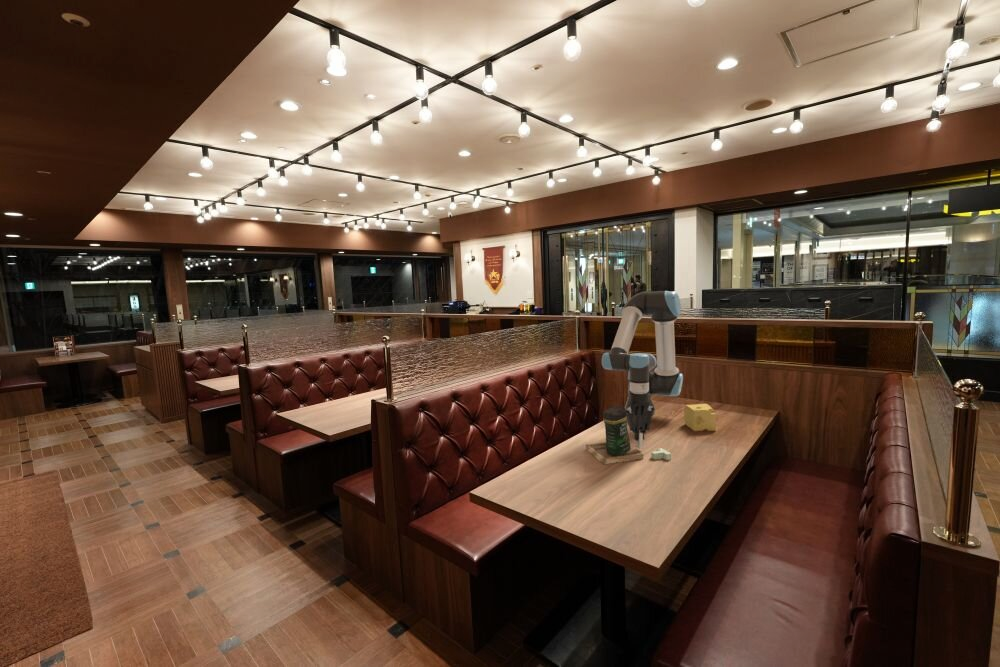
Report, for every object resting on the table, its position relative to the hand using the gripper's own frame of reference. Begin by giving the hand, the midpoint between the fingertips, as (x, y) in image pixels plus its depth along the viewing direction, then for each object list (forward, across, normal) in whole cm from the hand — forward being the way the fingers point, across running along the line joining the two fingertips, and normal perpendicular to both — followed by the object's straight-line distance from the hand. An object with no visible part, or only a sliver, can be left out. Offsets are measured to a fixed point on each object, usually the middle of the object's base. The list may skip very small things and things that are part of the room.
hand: (639, 447), depth 178 cm
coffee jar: (+1, -9, 0) cm, 9 cm away
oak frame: (+1, -12, 0) cm, 12 cm away
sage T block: (+1, +3, -9) cm, 10 cm away
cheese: (+2, +40, +15) cm, 43 cm away
